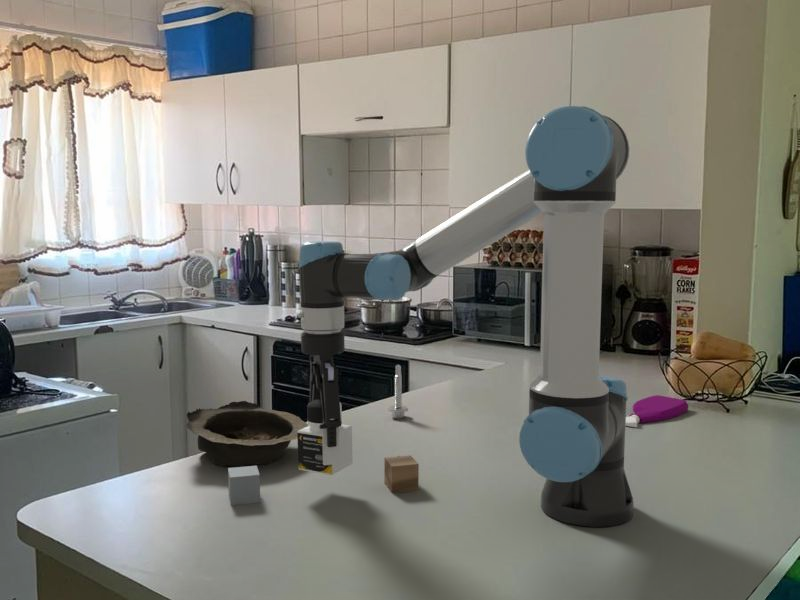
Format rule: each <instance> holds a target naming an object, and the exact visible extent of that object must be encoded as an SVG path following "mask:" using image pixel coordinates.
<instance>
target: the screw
mask: <svg viewBox="0 0 800 600" xmlns="http://www.w3.org/2000/svg"><path fill="white" fill-rule="evenodd" d="M394 372H395V375H394V378H393V379H394V405H391V406H389V407H388V409H387V410H388V412H390V413H391V415H392V418H393V419H403V418H404V417H405V413H406V412H408V411H409V407H408V406H405V405H403V403H402V402H403V396H402V395H403V394H402V393H403V391H402V390H403V384H402V383H403V382H402V381H403V379H402V378H403V377H402V366H401V365H400V364H396V365H395V371H394Z"/></svg>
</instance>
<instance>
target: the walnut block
mask: <svg viewBox="0 0 800 600" xmlns="http://www.w3.org/2000/svg"><path fill="white" fill-rule="evenodd" d="M383 460H384V461H383V462H384V463H383V464H384V466H383V467H384V469H383V470H384V474H383V475H384V477H383V479H384V480H383V482H384V485H385V486H386V487H387V488H388V490H389V492H390V493H391V494H395V493H404V492H405V493H406V492H415V491H419V474H420V473H419V467H420V466H419V463H418V461H416V459H415V458H413V456H412V455H401V456H400V455H399V456H388V457H387V456H386V457H384V458H383Z"/></svg>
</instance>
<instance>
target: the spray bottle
mask: <svg viewBox="0 0 800 600" xmlns="http://www.w3.org/2000/svg"><path fill="white" fill-rule="evenodd" d="M688 410H689V404H688V402H687V401H686V400H685V399H680V398H676V397H669V396H663V395H658V394H655V395H651V396H648V397H645V398H642V399H639V400H637V401H636V402H635V403H634V404H633V405H632V411H633V413H630V414H629V416H626V423H625V427H630V428H638V424H644V423H645V424H646V423H652V422H661V421H666V420H670V419H674V418H677V417H679V416H681V415H683V414H685V413H686V412H688Z"/></svg>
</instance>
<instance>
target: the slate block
mask: <svg viewBox="0 0 800 600" xmlns="http://www.w3.org/2000/svg"><path fill="white" fill-rule="evenodd" d="M260 475H261V474H260V472H259V468H258V465H250V466H249V465H245V466H240V467H227V480H228V481H227V486H228V500H229V503H230V506H237V505H239V506H240V505H247V504H255V503H256V504H257V503H261V478H260V477H261V476H260Z"/></svg>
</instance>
